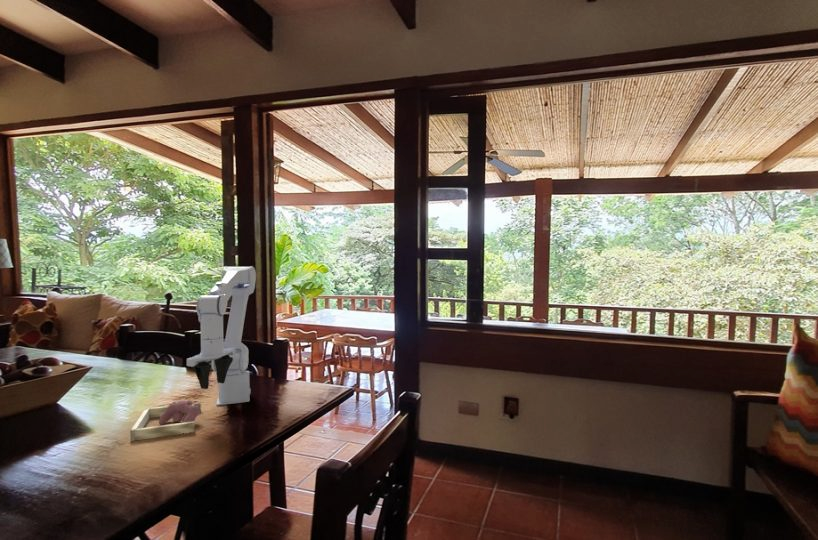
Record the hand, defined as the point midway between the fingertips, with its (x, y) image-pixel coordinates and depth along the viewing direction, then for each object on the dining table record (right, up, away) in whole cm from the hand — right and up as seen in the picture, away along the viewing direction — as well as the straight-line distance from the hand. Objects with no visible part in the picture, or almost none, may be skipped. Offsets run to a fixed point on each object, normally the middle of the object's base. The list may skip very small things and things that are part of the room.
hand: (212, 385), depth 114 cm
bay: (-10, -10, -4) cm, 14 cm away
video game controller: (-7, -10, -3) cm, 13 cm away
